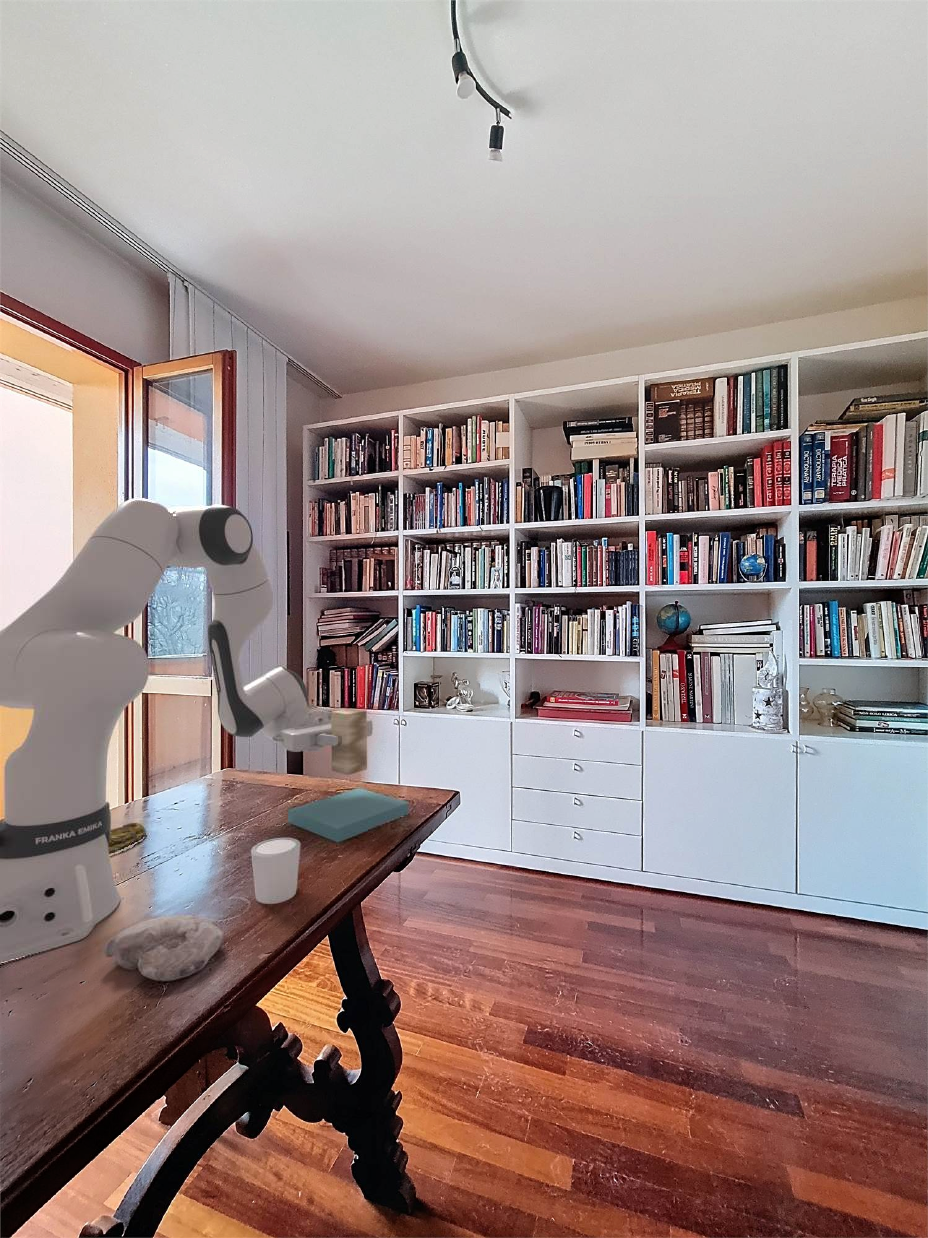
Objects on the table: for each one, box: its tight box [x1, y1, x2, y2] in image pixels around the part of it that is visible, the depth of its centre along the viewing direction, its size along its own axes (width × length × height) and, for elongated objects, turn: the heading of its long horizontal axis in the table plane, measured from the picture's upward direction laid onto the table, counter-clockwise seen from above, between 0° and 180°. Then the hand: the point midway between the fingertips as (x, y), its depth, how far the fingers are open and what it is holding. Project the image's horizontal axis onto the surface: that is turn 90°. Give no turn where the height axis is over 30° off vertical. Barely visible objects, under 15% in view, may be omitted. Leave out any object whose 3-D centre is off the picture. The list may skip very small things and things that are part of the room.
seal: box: [108, 822, 147, 854], centre depth 97 cm, size 9×5×15 cm
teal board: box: [287, 787, 410, 843], centre depth 108 cm, size 18×16×2 cm
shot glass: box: [250, 837, 301, 905], centre depth 78 cm, size 7×7×7 cm
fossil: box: [104, 914, 224, 982], centre depth 63 cm, size 12×4×10 cm
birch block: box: [331, 708, 368, 776], centre depth 109 cm, size 5×5×12 cm
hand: (352, 738), depth 108 cm, fingers closed on birch block, 5 cm apart
